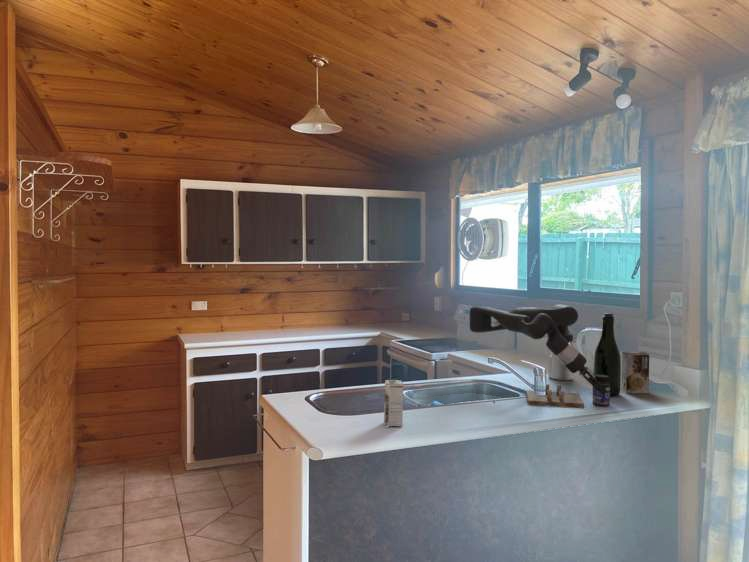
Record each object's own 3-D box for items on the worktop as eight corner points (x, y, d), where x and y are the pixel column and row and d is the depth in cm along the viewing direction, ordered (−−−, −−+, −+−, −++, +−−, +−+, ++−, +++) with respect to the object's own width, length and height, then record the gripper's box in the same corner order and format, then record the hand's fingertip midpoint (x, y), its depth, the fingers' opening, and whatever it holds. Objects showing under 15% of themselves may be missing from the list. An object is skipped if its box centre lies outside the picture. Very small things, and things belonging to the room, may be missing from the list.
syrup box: (383, 422, 199) (383, 379, 198) (401, 422, 199) (401, 379, 198) (385, 427, 193) (385, 383, 192) (403, 427, 194) (403, 383, 193)
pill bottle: (607, 407, 219) (608, 378, 218) (590, 405, 222) (591, 376, 221) (611, 404, 224) (612, 375, 223) (594, 401, 227) (595, 373, 227)
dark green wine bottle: (623, 393, 240) (625, 312, 238) (616, 398, 232) (619, 315, 230) (596, 389, 246) (598, 311, 244) (589, 394, 238) (591, 313, 236)
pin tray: (528, 404, 223) (528, 391, 222) (526, 394, 238) (526, 381, 238) (584, 407, 219) (584, 394, 218) (578, 397, 234) (578, 384, 234)
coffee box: (643, 390, 246) (644, 351, 245) (648, 393, 240) (650, 354, 239) (620, 389, 247) (621, 351, 246) (625, 393, 241) (626, 354, 240)
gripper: (561, 360, 232) (592, 392, 230) (565, 368, 218) (598, 401, 216) (575, 348, 231) (607, 379, 229) (581, 354, 217) (614, 388, 215)
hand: (602, 390), depth 223 cm, fingers closed on pill bottle, 6 cm apart
